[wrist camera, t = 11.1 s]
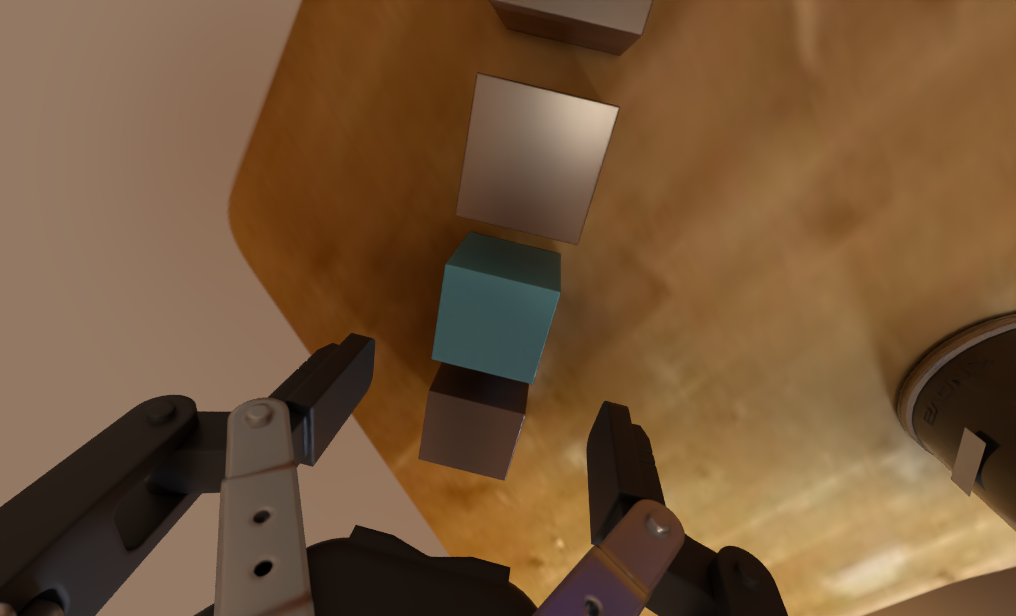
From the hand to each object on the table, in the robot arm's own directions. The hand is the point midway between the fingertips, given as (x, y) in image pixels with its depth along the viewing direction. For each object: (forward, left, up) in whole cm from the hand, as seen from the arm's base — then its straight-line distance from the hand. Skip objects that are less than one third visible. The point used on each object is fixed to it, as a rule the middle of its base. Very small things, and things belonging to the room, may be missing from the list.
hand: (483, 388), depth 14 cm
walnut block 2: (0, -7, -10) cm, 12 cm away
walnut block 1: (0, +7, -10) cm, 12 cm away
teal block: (0, 0, -10) cm, 10 cm away
